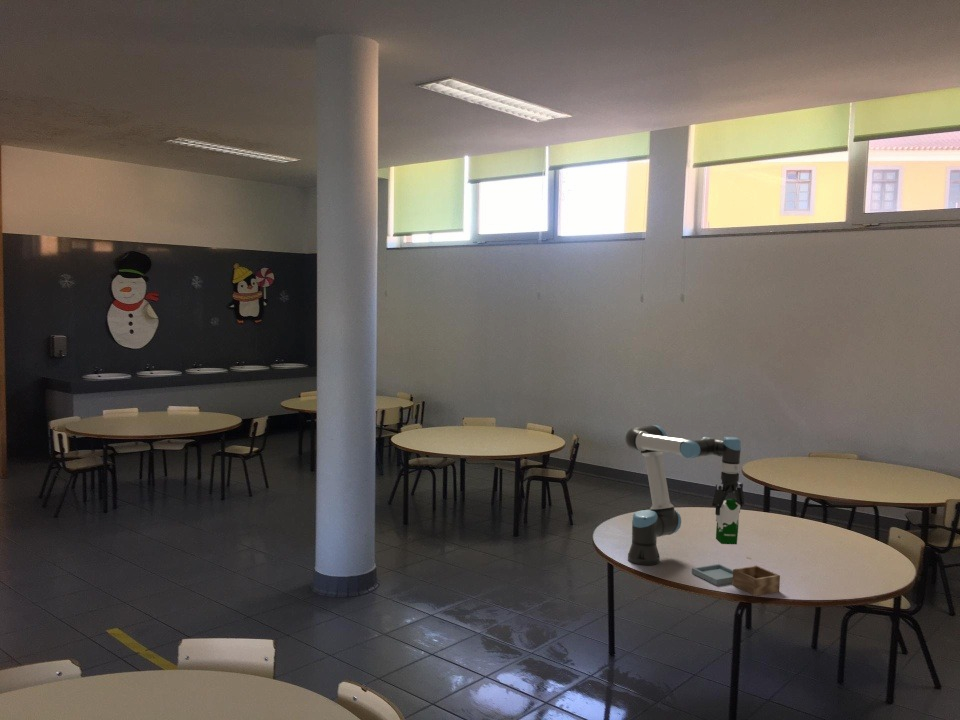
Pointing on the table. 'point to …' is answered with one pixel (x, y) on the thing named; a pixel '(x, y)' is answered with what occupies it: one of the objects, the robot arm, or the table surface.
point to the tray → (714, 574)
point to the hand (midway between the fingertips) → (727, 521)
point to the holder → (756, 580)
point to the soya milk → (728, 522)
